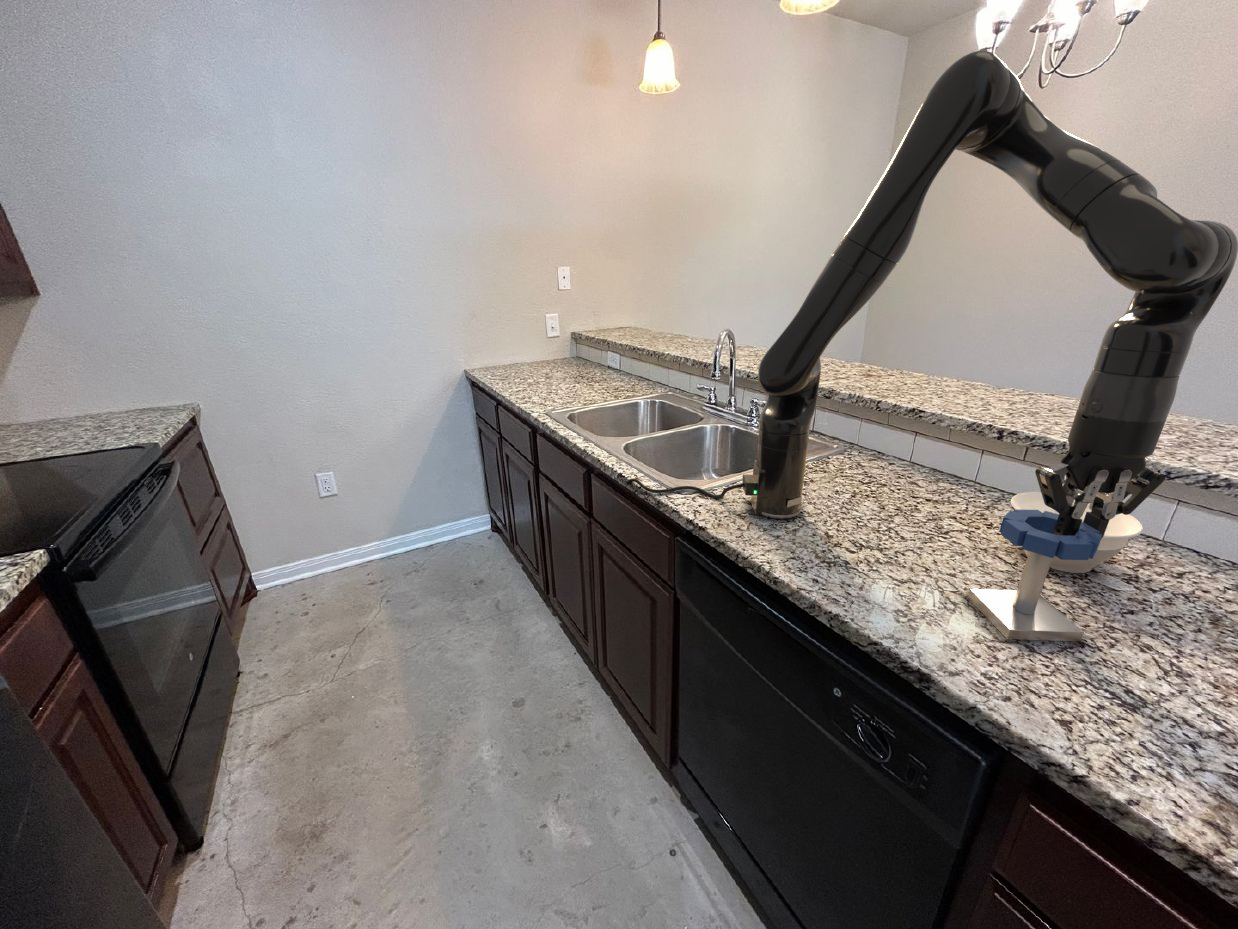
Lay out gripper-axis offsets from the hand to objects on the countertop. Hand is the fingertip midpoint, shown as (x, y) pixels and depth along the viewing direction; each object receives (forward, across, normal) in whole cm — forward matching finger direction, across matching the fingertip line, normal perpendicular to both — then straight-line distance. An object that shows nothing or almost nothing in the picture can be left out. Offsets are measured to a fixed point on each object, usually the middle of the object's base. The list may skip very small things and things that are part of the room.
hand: (1075, 540), depth 64 cm
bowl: (+12, -12, -16) cm, 24 cm away
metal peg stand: (+12, +4, 0) cm, 13 cm away
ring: (0, +4, 0) cm, 4 cm away
